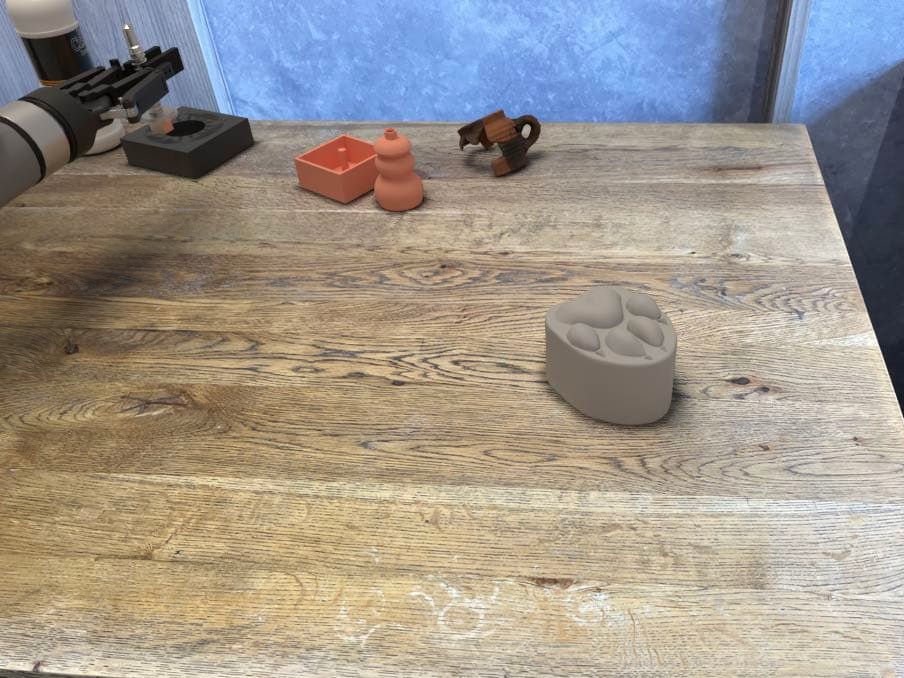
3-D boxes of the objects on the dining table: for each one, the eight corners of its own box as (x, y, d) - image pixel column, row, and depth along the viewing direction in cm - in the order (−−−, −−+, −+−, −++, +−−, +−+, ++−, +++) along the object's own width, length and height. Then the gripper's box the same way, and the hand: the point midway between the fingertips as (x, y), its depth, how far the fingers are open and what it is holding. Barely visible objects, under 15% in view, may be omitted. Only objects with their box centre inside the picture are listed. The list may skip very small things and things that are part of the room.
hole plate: (129, 164, 122) (119, 138, 119) (190, 130, 130) (182, 105, 128) (196, 179, 117) (187, 152, 115) (254, 143, 126) (248, 117, 124)
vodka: (59, 141, 129) (-35, -76, 109) (120, 126, 132) (40, -85, 112) (68, 162, 123) (-30, -63, 103) (132, 147, 126) (49, -73, 106)
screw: (148, 141, 102) (138, 129, 105) (187, 131, 104) (176, 119, 107) (109, 32, 93) (99, 22, 96) (152, 24, 95) (141, 14, 98)
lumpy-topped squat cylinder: (610, 333, 87) (612, 264, 81) (698, 395, 79) (708, 323, 74) (532, 373, 83) (529, 302, 77) (618, 443, 75) (621, 370, 69)
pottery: (300, 186, 115) (283, 118, 108) (349, 161, 120) (336, 95, 114) (393, 221, 107) (382, 150, 100) (441, 193, 112) (433, 123, 106)
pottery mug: (480, 186, 114) (454, 129, 112) (472, 187, 123) (448, 134, 121) (557, 150, 115) (533, 93, 113) (543, 153, 124) (521, 100, 122)
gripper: (-1, 160, 91) (129, 83, 108) (114, 173, 88) (230, 91, 105) (-34, 93, 86) (108, 23, 103) (87, 104, 83) (212, 29, 100)
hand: (169, 57), depth 104 cm, fingers closed on screw, 2 cm apart
